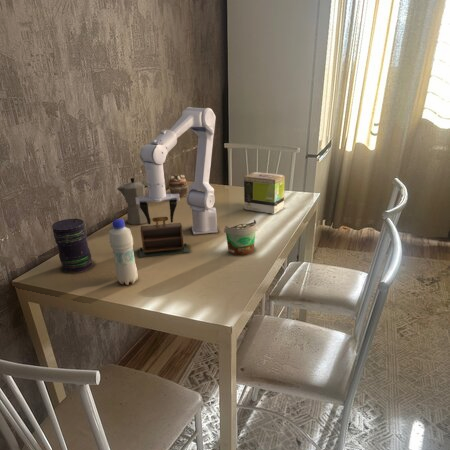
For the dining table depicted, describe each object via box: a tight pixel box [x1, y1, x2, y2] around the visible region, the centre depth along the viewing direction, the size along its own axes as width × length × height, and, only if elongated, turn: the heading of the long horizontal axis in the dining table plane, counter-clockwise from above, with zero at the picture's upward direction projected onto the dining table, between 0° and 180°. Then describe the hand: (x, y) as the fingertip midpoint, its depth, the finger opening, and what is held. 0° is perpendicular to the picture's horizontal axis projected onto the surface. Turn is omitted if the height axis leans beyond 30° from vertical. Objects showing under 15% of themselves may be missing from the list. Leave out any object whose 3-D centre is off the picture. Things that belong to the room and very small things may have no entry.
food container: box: [223, 219, 259, 256], centre depth 141 cm, size 12×6×10 cm, turn 118°
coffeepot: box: [116, 177, 148, 225], centre depth 170 cm, size 15×9×18 cm, turn 113°
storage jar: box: [51, 218, 94, 274], centre depth 134 cm, size 10×10×15 cm
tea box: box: [243, 171, 286, 215], centre depth 179 cm, size 15×10×15 cm
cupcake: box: [168, 173, 189, 198], centre depth 203 cm, size 10×10×10 cm
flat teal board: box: [138, 242, 190, 258], centre depth 147 cm, size 7×17×1 cm, turn 100°
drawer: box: [140, 216, 184, 253], centre depth 144 cm, size 5×14×11 cm, turn 100°
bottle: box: [108, 218, 139, 286], centre depth 123 cm, size 7×7×20 cm
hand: (160, 222), depth 143 cm, fingers open, 7 cm apart
